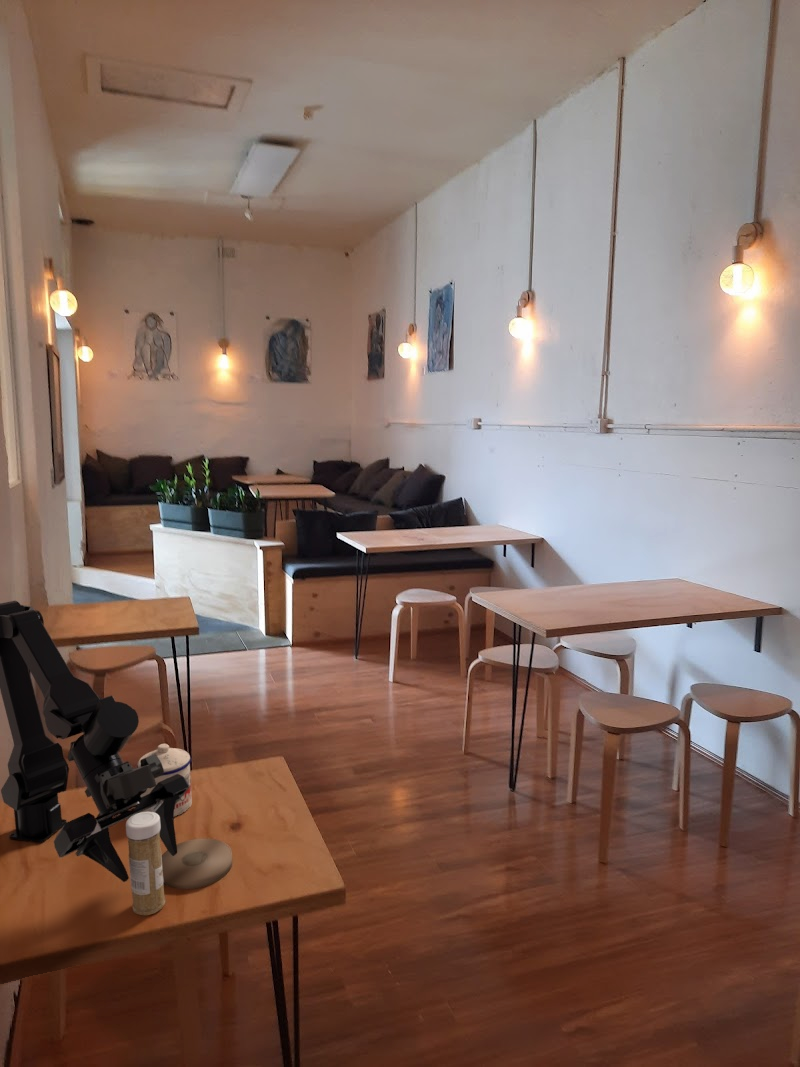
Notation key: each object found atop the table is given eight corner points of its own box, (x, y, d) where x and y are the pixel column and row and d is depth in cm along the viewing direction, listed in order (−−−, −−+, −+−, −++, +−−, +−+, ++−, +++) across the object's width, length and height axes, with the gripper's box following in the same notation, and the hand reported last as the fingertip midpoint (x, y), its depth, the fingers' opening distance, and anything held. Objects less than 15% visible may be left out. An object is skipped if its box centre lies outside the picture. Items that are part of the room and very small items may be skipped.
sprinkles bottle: (172, 905, 107) (166, 817, 105) (143, 921, 104) (136, 831, 102) (154, 892, 110) (148, 806, 108) (125, 907, 107) (118, 819, 105)
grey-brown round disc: (144, 884, 112) (143, 875, 112) (181, 843, 123) (180, 835, 123) (212, 893, 110) (211, 884, 109) (243, 851, 120) (243, 842, 120)
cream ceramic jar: (182, 821, 129) (178, 757, 128) (131, 820, 130) (126, 756, 128) (205, 787, 141) (202, 728, 139) (158, 786, 142) (154, 727, 140)
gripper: (57, 768, 99) (109, 876, 94) (178, 722, 113) (229, 814, 108) (33, 805, 105) (81, 909, 100) (151, 757, 119) (198, 846, 114)
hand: (151, 867), depth 105 cm, fingers open, 7 cm apart
